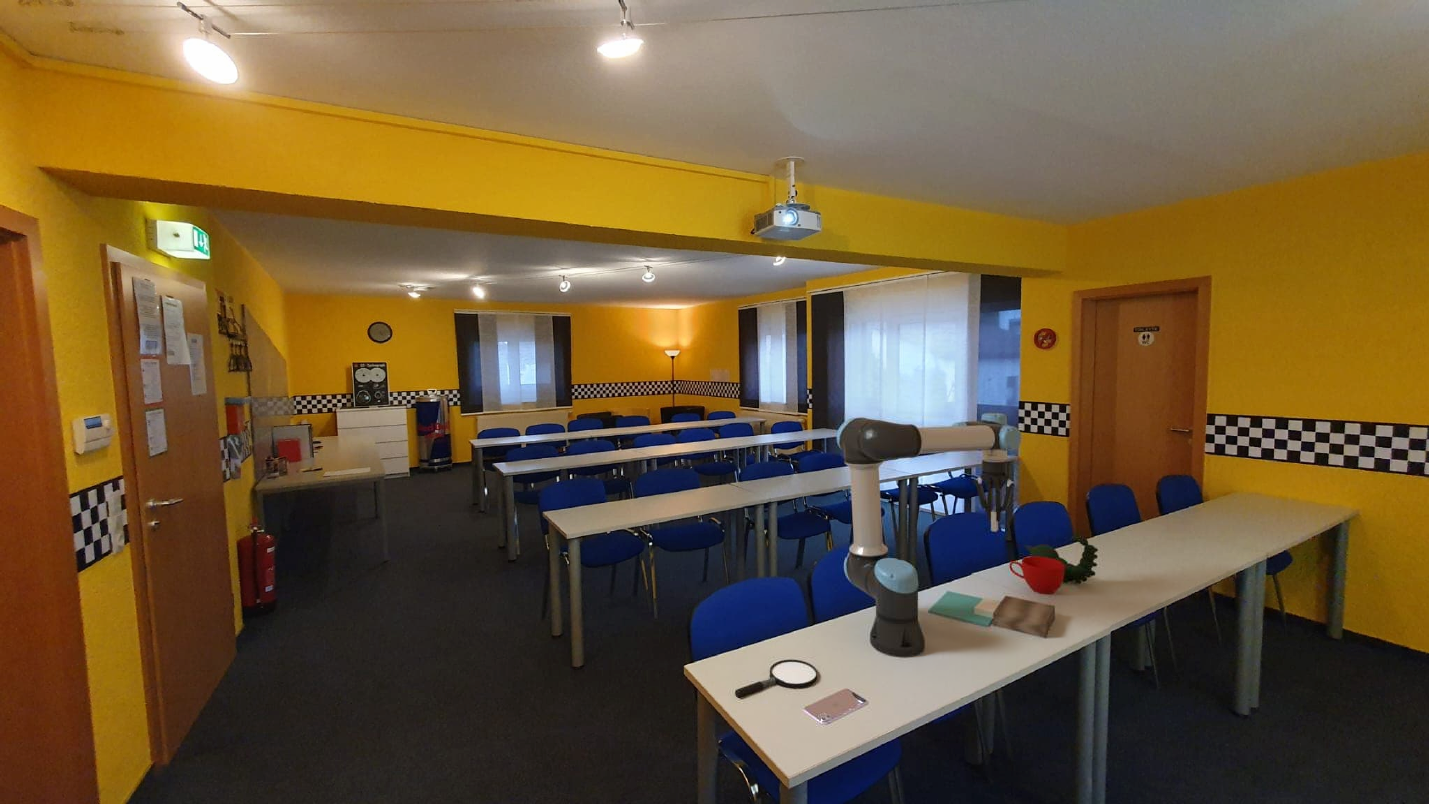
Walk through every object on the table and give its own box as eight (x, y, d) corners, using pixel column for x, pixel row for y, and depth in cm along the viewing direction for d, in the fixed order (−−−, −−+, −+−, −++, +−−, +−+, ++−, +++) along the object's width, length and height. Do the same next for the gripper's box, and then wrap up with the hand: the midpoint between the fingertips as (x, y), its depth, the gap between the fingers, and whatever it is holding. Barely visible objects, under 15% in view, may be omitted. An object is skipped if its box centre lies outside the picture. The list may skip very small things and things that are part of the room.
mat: (928, 612, 185) (928, 610, 185) (947, 592, 200) (947, 590, 200) (987, 627, 173) (987, 625, 173) (1003, 604, 189) (1003, 603, 189)
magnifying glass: (723, 687, 146) (723, 678, 146) (797, 661, 159) (796, 653, 159) (751, 711, 136) (751, 702, 136) (827, 681, 148) (827, 673, 148)
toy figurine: (1098, 589, 203) (1030, 563, 224) (1104, 538, 200) (1034, 517, 222) (1083, 595, 198) (1015, 568, 220) (1089, 543, 195) (1019, 521, 217)
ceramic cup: (1012, 579, 211) (1012, 552, 210) (1065, 588, 201) (1065, 560, 200) (1006, 590, 200) (1006, 563, 200) (1062, 601, 190) (1063, 571, 190)
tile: (974, 613, 182) (974, 607, 182) (983, 604, 188) (983, 598, 188) (994, 618, 178) (994, 612, 177) (1003, 609, 184) (1003, 603, 184)
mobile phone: (869, 700, 137) (823, 723, 129) (869, 704, 137) (823, 727, 129) (846, 686, 143) (801, 707, 135) (846, 690, 143) (801, 711, 135)
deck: (993, 625, 174) (993, 612, 174) (1005, 607, 187) (1005, 595, 186) (1045, 638, 166) (1045, 624, 165) (1054, 618, 178) (1054, 605, 178)
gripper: (970, 460, 190) (970, 529, 191) (1013, 463, 182) (1013, 536, 183) (976, 457, 196) (976, 524, 197) (1018, 459, 187) (1018, 530, 189)
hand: (994, 530), depth 190 cm, fingers closed
